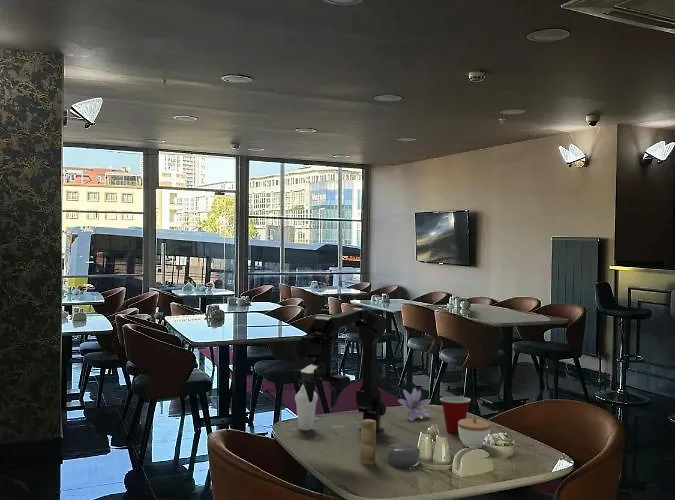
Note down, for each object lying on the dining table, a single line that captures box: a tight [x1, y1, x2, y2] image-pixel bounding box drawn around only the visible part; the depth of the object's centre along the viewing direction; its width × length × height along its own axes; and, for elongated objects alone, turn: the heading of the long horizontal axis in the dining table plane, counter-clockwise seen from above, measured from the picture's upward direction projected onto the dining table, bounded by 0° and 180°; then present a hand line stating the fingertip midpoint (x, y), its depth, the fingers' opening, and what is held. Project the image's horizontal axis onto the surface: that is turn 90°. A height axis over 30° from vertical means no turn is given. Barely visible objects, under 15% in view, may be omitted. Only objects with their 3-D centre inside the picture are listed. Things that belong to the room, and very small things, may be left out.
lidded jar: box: [458, 417, 492, 448], centre depth 213 cm, size 11×11×9 cm
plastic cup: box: [439, 396, 472, 435], centre depth 229 cm, size 11×11×12 cm
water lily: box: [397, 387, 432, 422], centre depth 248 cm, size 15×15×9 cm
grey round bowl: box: [386, 442, 421, 468], centre depth 196 cm, size 10×10×4 cm
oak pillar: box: [359, 419, 377, 466], centre depth 195 cm, size 4×4×12 cm
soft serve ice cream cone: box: [294, 384, 319, 431], centre depth 228 cm, size 8×8×16 cm
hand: (321, 404), depth 206 cm, fingers open, 9 cm apart
